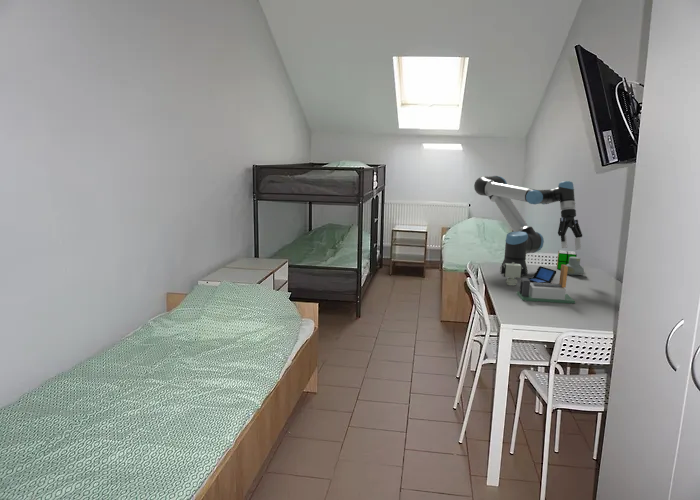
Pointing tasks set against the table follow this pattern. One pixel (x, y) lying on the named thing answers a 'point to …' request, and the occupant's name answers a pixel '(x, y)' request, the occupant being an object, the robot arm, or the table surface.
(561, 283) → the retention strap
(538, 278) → the handheld game console
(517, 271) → the pneumatic valve
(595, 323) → the table surface
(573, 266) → the air freshener
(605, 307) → the table surface
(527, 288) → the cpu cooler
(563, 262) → the puzzle cube
